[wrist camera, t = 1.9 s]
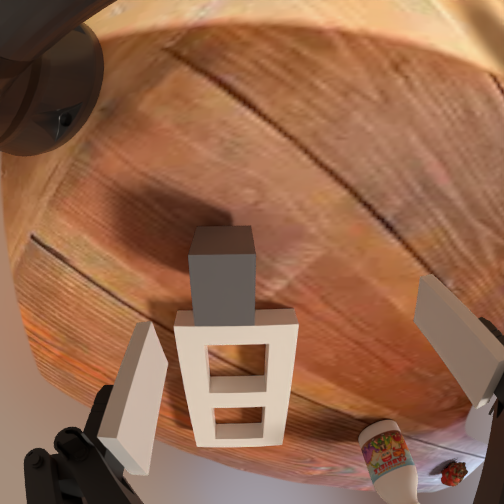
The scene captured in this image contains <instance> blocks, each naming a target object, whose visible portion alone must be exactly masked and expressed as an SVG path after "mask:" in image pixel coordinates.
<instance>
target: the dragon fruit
mask: <svg viewBox="0 0 504 504" xmlns="http://www.w3.org/2000/svg"><path fill="white" fill-rule="evenodd" d="M465 464H466V463H464V462H463V463H462V462H459V463H455V462H454V463H450V464H449V465H448V468H445V469H444V470H443V471H441V473H442V478H441V482H442V483H443V484H445V485H448V486H456V485H457V484H458V483H460V482H461V481H462V480H463V478H464V476H465V475H466V474H467V473H468V471H467V470H466V467H465Z"/></svg>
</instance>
